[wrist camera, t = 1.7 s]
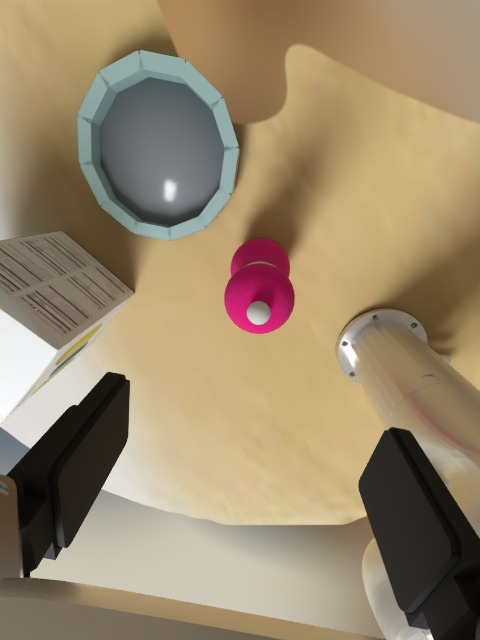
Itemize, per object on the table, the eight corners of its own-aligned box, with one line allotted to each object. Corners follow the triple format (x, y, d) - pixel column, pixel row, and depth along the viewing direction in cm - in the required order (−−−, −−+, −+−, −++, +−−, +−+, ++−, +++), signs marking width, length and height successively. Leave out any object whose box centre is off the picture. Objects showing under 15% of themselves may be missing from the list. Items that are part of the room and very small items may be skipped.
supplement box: (90, 348, 46) (-1, 426, 30) (18, 293, 44) (-124, 347, 27) (137, 293, 42) (60, 350, 26) (61, 228, 39) (-79, 248, 23)
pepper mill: (295, 272, 39) (325, 336, 21) (250, 295, 41) (240, 374, 23) (271, 224, 37) (281, 248, 19) (224, 251, 39) (190, 298, 20)
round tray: (251, 84, 31) (250, 72, 28) (225, 247, 39) (222, 251, 36) (91, 51, 31) (73, 36, 28) (95, 221, 38) (81, 223, 36)
